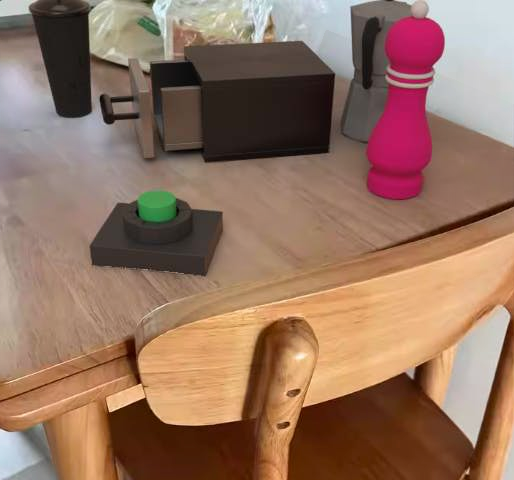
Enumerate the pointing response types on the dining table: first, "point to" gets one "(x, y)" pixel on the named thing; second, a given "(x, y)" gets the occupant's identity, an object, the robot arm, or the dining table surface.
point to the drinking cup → (65, 52)
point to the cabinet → (262, 100)
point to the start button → (157, 206)
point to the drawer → (162, 105)
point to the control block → (158, 240)
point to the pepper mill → (405, 107)
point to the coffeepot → (369, 65)
